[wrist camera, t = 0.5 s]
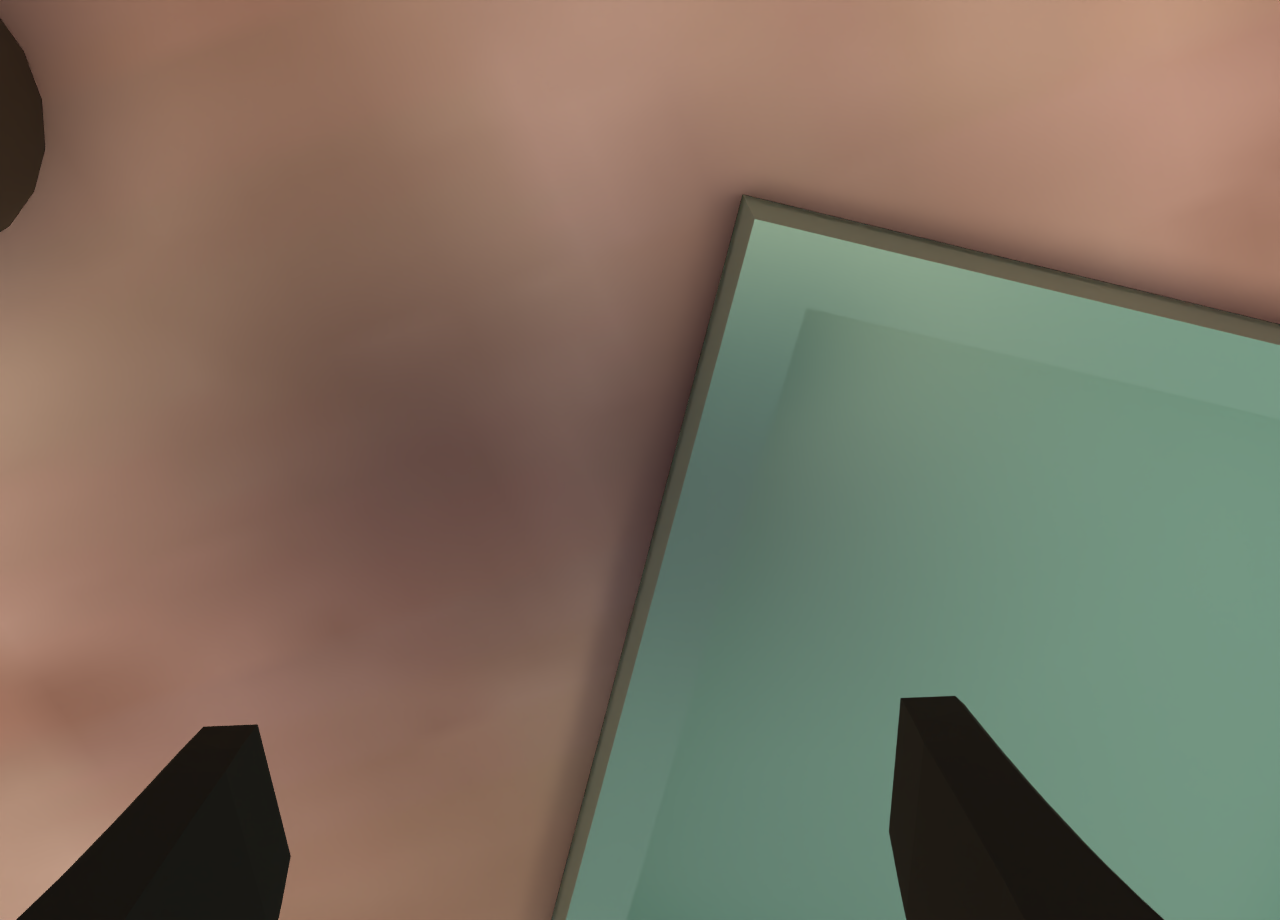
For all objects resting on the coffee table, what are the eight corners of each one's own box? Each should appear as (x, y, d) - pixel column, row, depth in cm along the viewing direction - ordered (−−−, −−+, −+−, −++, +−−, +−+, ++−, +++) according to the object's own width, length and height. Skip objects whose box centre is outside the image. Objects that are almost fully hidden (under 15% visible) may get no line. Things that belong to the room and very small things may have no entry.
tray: (1259, 1087, 29) (1315, 1186, 26) (542, 952, 28) (532, 1044, 25) (1649, 413, 23) (1769, 462, 20) (742, 194, 21) (754, 218, 19)
